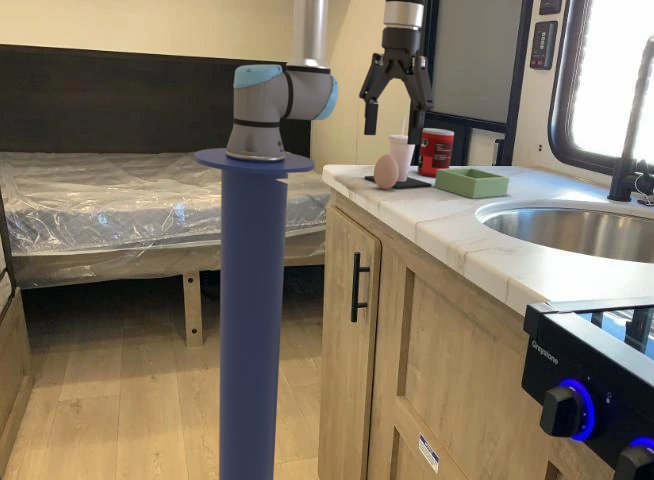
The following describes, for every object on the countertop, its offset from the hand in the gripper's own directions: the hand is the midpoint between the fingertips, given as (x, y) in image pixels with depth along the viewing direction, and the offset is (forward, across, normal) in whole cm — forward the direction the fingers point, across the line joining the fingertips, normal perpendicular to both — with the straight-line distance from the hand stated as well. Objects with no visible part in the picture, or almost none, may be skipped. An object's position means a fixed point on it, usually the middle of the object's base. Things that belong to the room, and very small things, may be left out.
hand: (390, 139), depth 125 cm
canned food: (+10, +11, -26) cm, 30 cm away
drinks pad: (+10, +5, -8) cm, 14 cm away
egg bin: (+10, -7, -20) cm, 24 cm away
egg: (+11, 0, 0) cm, 11 cm away
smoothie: (+10, +5, -8) cm, 14 cm away
